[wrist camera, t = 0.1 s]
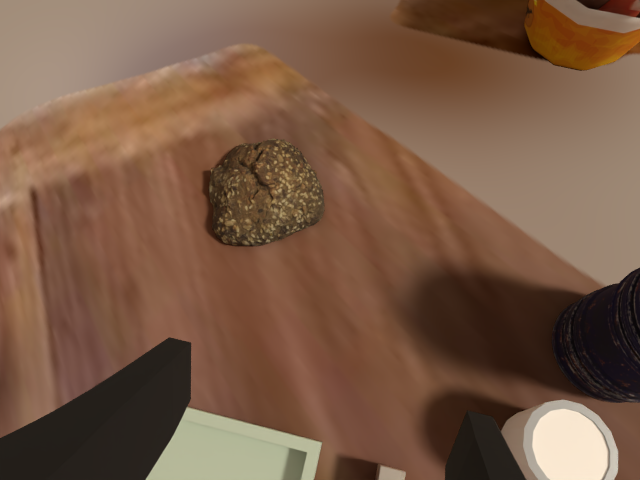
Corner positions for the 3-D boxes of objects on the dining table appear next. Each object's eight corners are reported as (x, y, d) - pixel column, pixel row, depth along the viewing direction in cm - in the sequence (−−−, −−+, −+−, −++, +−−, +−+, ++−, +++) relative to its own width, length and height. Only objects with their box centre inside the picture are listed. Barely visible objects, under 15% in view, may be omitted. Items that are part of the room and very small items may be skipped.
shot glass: (476, 442, 40) (504, 445, 34) (525, 387, 42) (561, 380, 36) (539, 509, 38) (582, 525, 32) (589, 448, 40) (638, 452, 33)
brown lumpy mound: (333, 231, 49) (333, 210, 44) (218, 259, 48) (206, 241, 43) (305, 134, 53) (302, 106, 49) (200, 157, 53) (187, 132, 48)
